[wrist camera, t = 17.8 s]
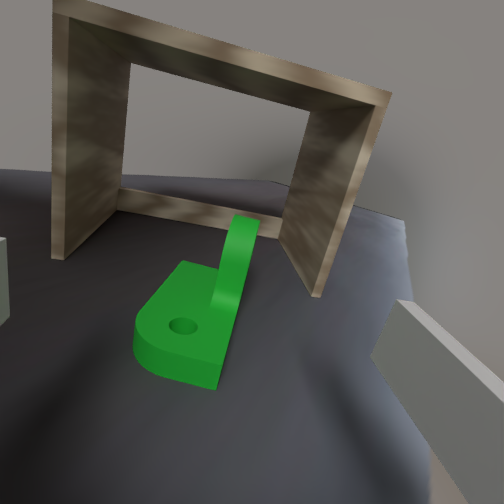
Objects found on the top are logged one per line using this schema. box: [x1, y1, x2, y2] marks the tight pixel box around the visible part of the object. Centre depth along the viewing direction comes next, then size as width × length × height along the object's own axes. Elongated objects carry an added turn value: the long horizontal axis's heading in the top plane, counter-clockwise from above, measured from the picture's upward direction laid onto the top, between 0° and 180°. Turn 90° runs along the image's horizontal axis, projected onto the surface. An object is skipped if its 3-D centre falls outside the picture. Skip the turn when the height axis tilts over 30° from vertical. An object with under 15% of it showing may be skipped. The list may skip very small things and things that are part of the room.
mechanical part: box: [133, 214, 260, 390], centre depth 22 cm, size 12×6×8 cm, turn 174°
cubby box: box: [51, 0, 392, 298], centre depth 34 cm, size 25×18×19 cm
